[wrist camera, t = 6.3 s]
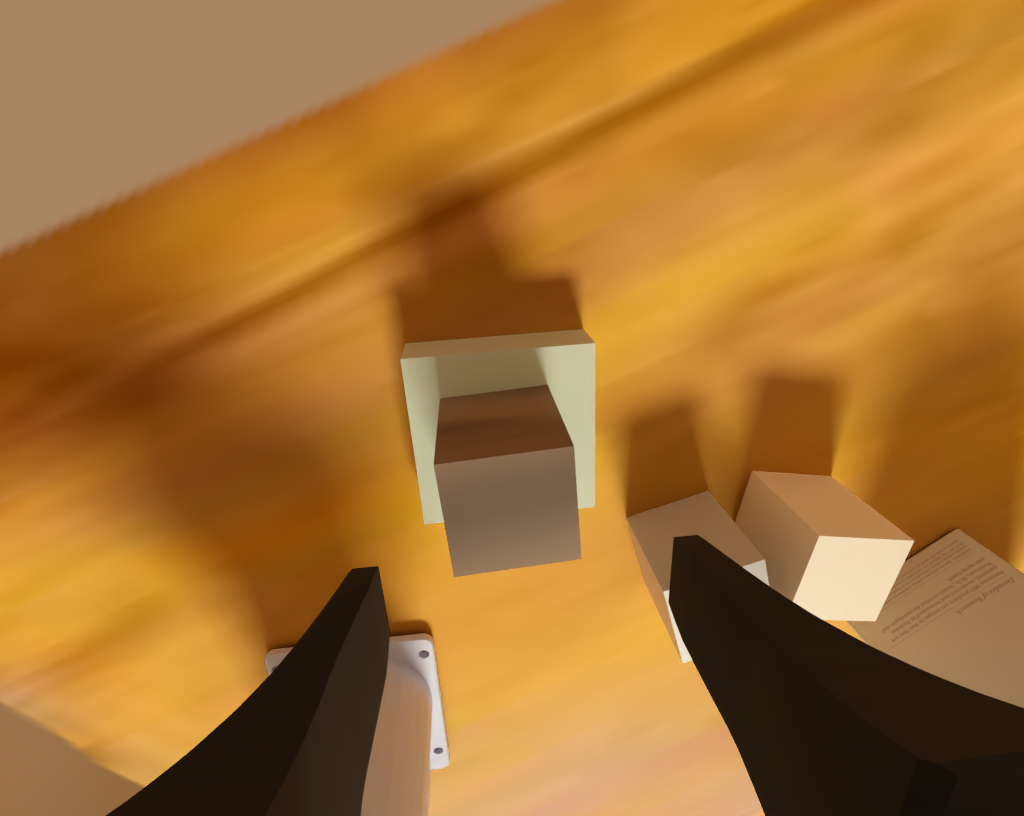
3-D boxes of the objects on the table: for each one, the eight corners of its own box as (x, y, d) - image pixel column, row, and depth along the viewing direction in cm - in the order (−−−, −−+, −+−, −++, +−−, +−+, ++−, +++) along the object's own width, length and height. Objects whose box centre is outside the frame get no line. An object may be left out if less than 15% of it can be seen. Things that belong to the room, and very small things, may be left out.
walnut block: (555, 477, 21) (581, 558, 17) (455, 491, 21) (454, 577, 17) (547, 384, 20) (574, 446, 15) (440, 398, 20) (433, 465, 15)
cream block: (803, 545, 26) (875, 621, 22) (727, 542, 26) (785, 618, 21) (830, 475, 25) (914, 540, 20) (751, 470, 24) (819, 535, 20)
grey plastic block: (721, 555, 26) (777, 634, 22) (644, 580, 26) (682, 663, 22) (708, 489, 25) (765, 559, 20) (625, 516, 25) (663, 591, 20)
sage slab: (581, 476, 24) (594, 506, 22) (427, 491, 24) (424, 524, 22) (580, 326, 22) (595, 342, 19) (406, 340, 21) (400, 359, 19)
